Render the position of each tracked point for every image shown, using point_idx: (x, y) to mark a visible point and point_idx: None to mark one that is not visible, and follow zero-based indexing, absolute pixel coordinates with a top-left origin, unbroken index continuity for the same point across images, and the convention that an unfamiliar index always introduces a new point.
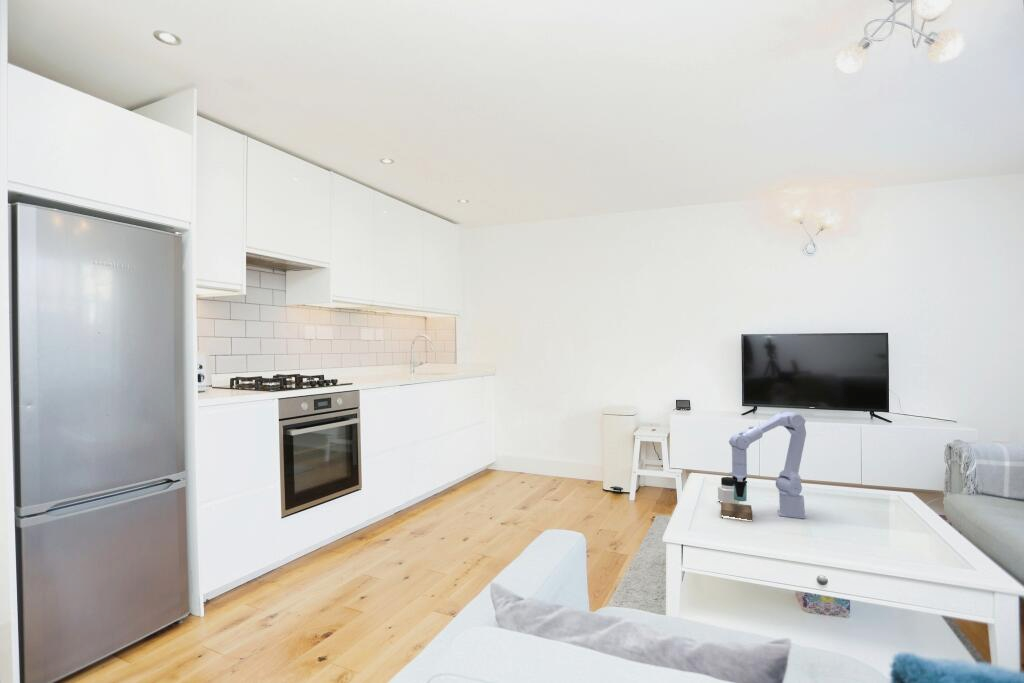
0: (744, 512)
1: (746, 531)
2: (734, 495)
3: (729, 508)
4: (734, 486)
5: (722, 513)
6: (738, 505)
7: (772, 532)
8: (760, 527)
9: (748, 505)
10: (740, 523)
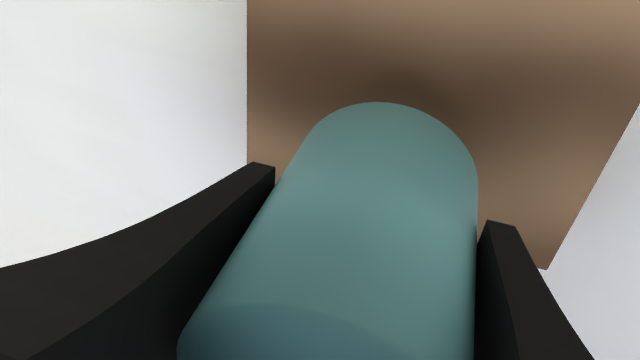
0: (249, 126)
1: (14, 37)
2: (338, 138)
3: None
4: (281, 256)
5: None
6: (523, 137)
7: (94, 195)
8: (156, 160)
9: (531, 243)
10: (186, 35)
